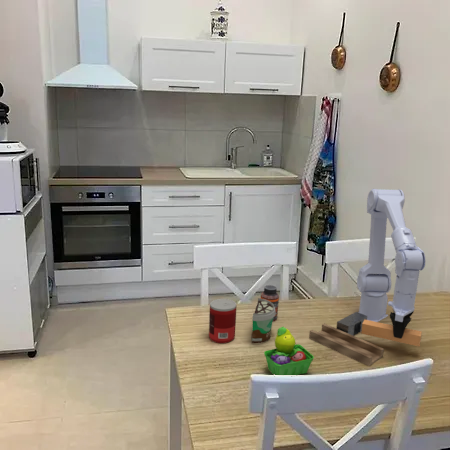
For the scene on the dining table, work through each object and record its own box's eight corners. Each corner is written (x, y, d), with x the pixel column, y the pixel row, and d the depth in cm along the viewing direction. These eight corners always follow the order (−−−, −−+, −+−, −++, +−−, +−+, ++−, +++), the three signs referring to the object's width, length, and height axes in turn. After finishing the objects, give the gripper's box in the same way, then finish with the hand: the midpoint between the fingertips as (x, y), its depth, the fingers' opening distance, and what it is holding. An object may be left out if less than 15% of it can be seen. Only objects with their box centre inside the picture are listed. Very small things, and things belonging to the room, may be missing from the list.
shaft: (361, 333, 137) (362, 323, 136) (363, 329, 140) (364, 319, 139) (419, 346, 130) (420, 336, 129) (420, 341, 133) (421, 331, 132)
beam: (354, 325, 151) (356, 311, 149) (365, 330, 148) (367, 316, 147) (335, 336, 143) (337, 321, 142) (346, 341, 140) (348, 326, 139)
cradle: (308, 339, 140) (309, 330, 140) (323, 332, 145) (324, 323, 145) (368, 367, 126) (370, 357, 126) (382, 358, 132) (383, 348, 131)
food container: (271, 348, 135) (274, 316, 132) (250, 345, 136) (252, 314, 133) (275, 329, 146) (278, 299, 144) (256, 326, 147) (258, 297, 145)
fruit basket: (275, 383, 118) (279, 343, 115) (259, 365, 125) (262, 327, 123) (313, 375, 122) (317, 336, 119) (295, 358, 130) (298, 321, 127)
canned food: (240, 337, 140) (241, 303, 137) (222, 346, 134) (223, 311, 132) (221, 328, 145) (223, 296, 142) (203, 337, 139) (204, 303, 137)
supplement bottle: (267, 325, 149) (269, 292, 146) (255, 318, 153) (257, 286, 150) (280, 320, 152) (283, 288, 149) (268, 313, 157) (270, 282, 154)
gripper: (394, 279, 138) (388, 321, 142) (386, 296, 126) (379, 341, 129) (419, 284, 135) (412, 327, 139) (413, 302, 123) (406, 348, 126)
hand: (398, 334), depth 134 cm, fingers closed on shaft, 3 cm apart
